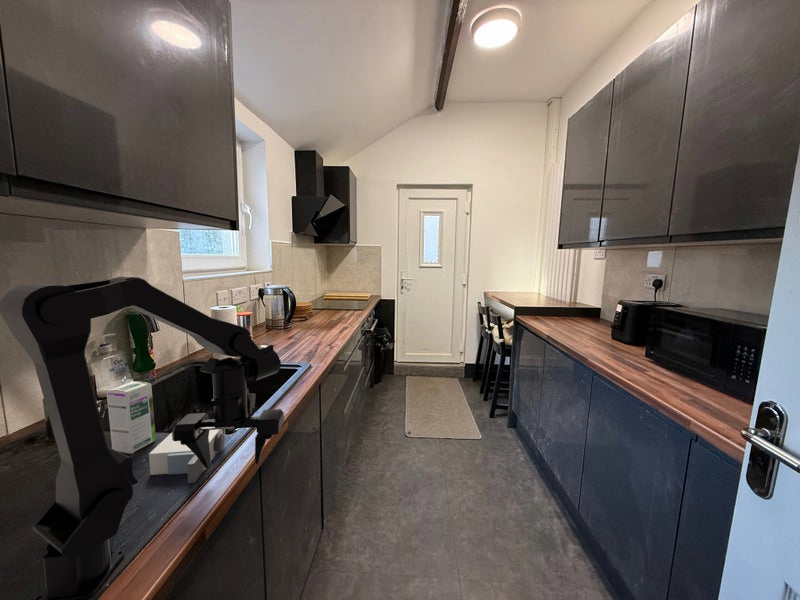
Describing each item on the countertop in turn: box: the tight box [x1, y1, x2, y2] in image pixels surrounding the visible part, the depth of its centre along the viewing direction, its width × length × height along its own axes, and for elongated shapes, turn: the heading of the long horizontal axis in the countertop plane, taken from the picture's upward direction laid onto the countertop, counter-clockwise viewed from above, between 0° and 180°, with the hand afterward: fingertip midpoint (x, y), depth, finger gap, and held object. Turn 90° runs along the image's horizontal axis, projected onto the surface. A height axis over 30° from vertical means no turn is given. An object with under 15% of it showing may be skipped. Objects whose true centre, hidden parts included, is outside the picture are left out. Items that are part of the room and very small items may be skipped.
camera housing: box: [148, 429, 226, 476], centre depth 69 cm, size 10×11×5 cm
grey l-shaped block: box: [167, 452, 206, 484], centre depth 62 cm, size 4×6×4 cm, turn 99°
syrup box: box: [106, 381, 157, 455], centre depth 73 cm, size 6×6×14 cm
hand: (233, 465), depth 63 cm, fingers open, 9 cm apart
